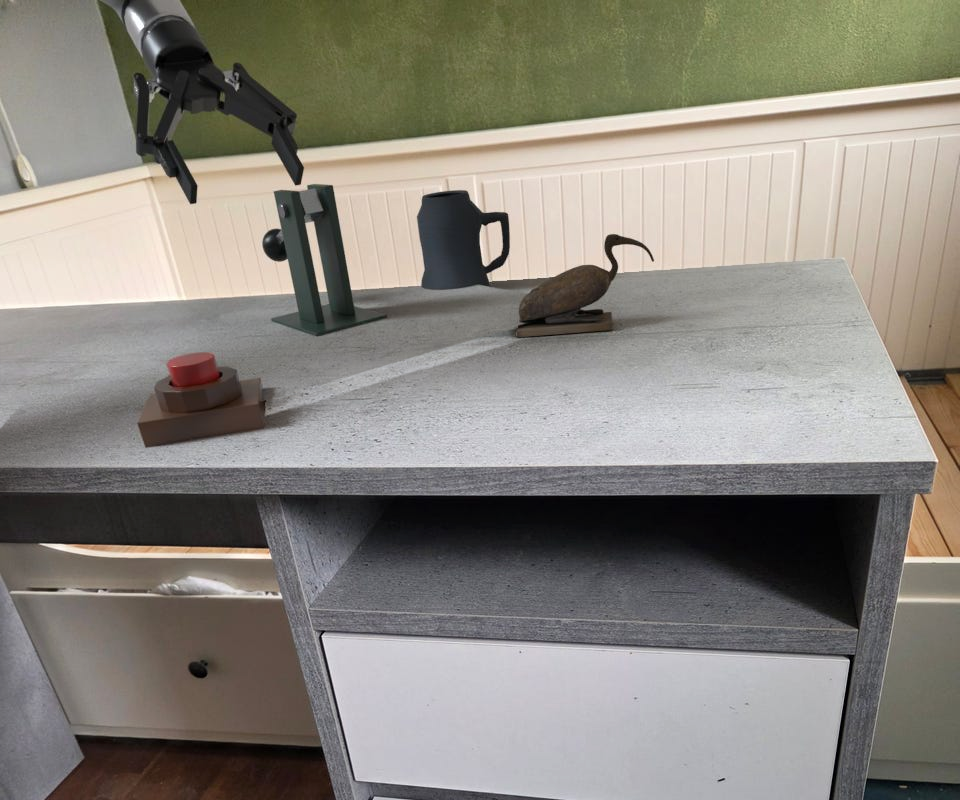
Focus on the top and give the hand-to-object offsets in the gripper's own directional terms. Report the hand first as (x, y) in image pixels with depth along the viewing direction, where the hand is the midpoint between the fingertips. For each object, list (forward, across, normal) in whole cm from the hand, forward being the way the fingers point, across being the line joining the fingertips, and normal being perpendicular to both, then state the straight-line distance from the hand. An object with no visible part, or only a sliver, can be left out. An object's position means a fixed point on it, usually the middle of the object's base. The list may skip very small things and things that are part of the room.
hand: (248, 185), depth 104 cm
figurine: (+39, -17, +18) cm, 46 cm away
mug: (+20, -21, -1) cm, 29 cm away
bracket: (+21, 0, 0) cm, 21 cm away
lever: (+11, 0, +3) cm, 12 cm away
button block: (+35, +23, +14) cm, 44 cm away
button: (+33, +23, +17) cm, 43 cm away
